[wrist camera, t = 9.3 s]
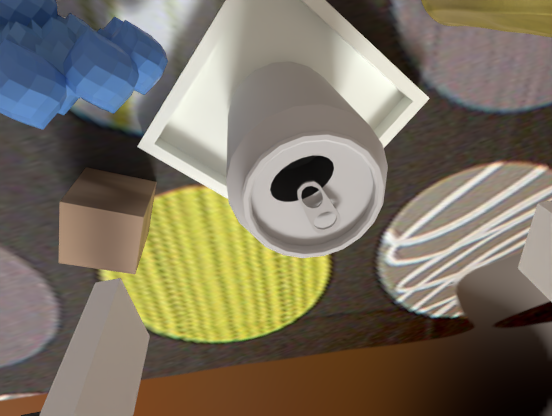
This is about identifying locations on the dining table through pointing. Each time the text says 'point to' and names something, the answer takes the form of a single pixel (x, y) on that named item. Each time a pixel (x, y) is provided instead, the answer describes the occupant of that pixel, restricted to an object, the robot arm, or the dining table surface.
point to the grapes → (69, 62)
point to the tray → (260, 52)
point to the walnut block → (105, 221)
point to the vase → (494, 14)
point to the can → (301, 162)
